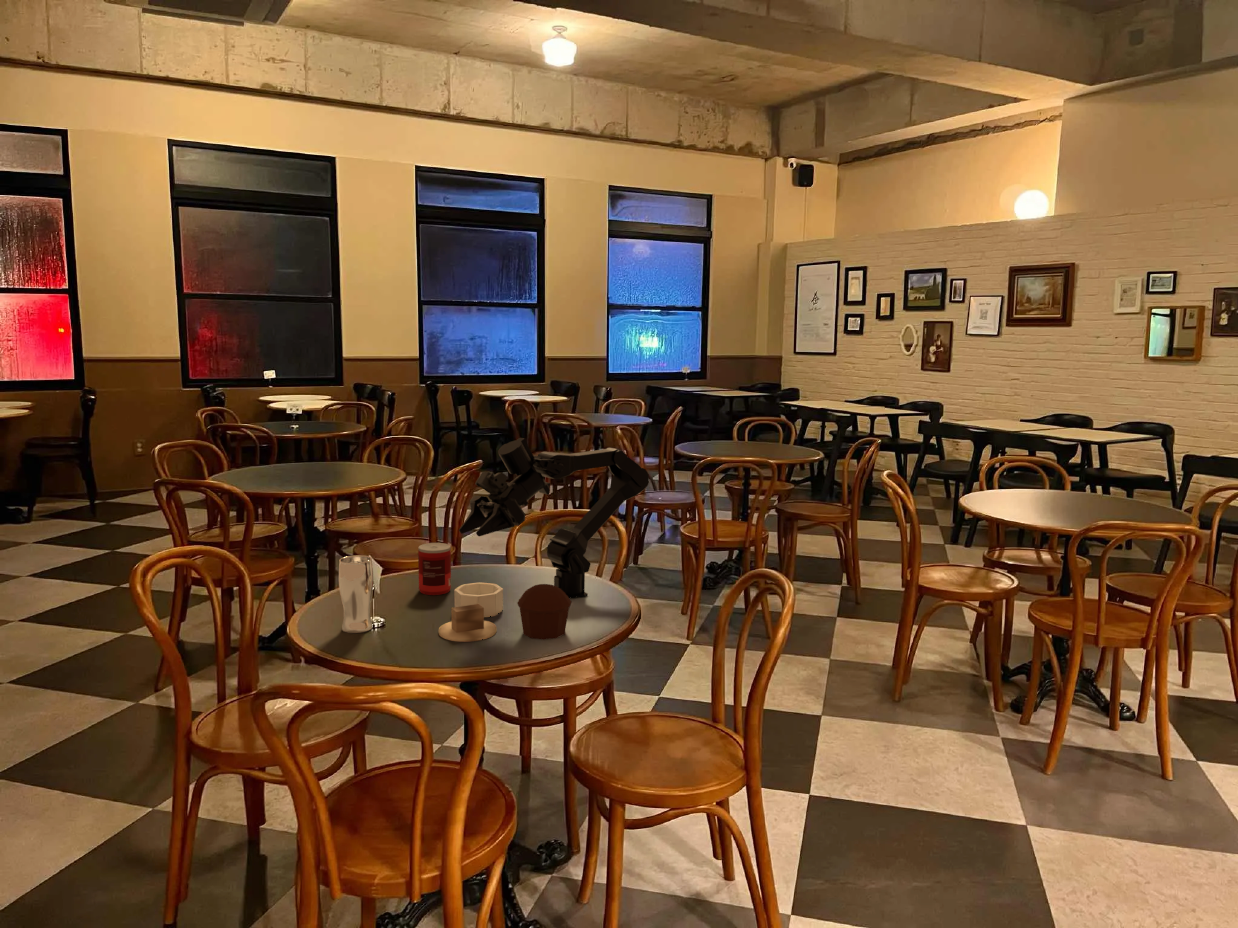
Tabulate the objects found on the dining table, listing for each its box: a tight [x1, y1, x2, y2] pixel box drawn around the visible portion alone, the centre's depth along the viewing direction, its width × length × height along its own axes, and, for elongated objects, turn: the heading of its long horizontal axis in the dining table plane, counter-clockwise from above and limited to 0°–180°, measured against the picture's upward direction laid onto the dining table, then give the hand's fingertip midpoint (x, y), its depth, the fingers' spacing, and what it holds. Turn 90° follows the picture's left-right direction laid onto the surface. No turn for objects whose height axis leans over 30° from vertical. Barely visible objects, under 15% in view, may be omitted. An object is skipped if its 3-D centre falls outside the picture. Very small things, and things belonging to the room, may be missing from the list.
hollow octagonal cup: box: [454, 581, 504, 618], centre depth 198 cm, size 10×10×5 cm
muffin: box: [516, 583, 572, 641], centre depth 184 cm, size 12×11×10 cm
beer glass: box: [338, 554, 374, 634], centre depth 184 cm, size 7×7×15 cm
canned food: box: [417, 542, 452, 596], centre depth 212 cm, size 8×8×11 cm
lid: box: [438, 604, 498, 643], centre depth 184 cm, size 12×12×6 cm
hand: (468, 533), depth 192 cm, fingers open, 9 cm apart
